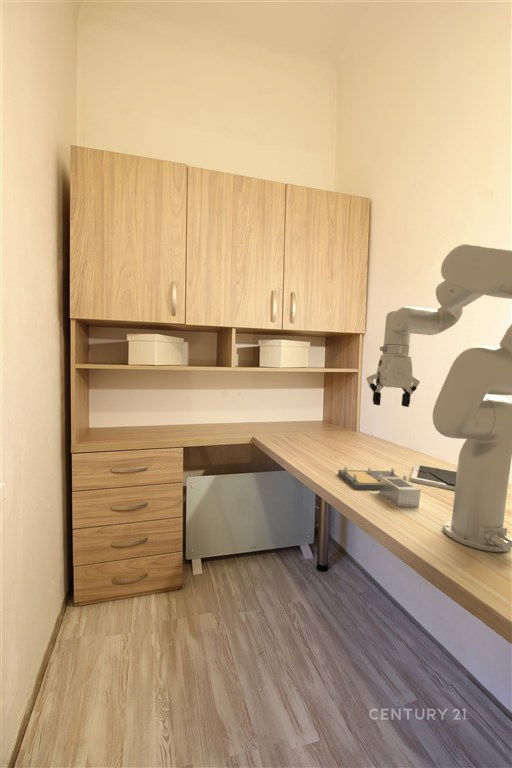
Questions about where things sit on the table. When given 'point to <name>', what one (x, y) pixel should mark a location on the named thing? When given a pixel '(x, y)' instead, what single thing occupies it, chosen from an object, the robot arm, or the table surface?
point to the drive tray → (366, 478)
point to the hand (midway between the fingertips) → (390, 405)
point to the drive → (399, 492)
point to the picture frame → (434, 476)
